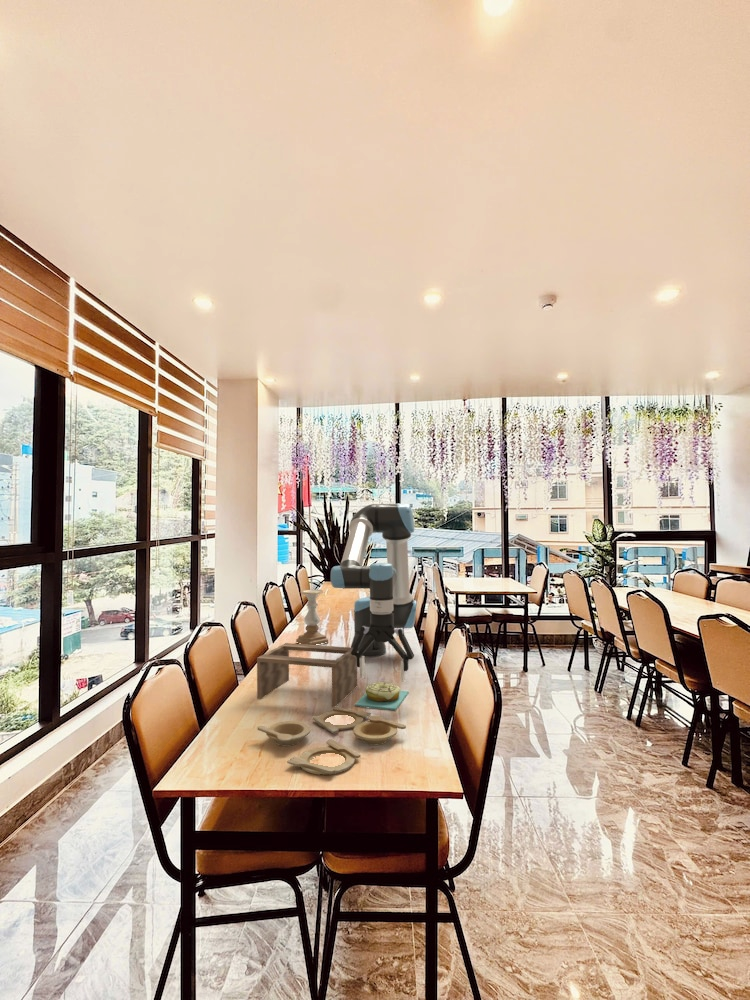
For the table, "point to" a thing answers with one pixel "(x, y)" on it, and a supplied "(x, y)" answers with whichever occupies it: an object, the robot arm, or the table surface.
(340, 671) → the box
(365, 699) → the mat
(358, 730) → the tableware set
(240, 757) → the table surface
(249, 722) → the table surface
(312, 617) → the candle holder
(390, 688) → the decorated donut
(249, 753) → the table surface
